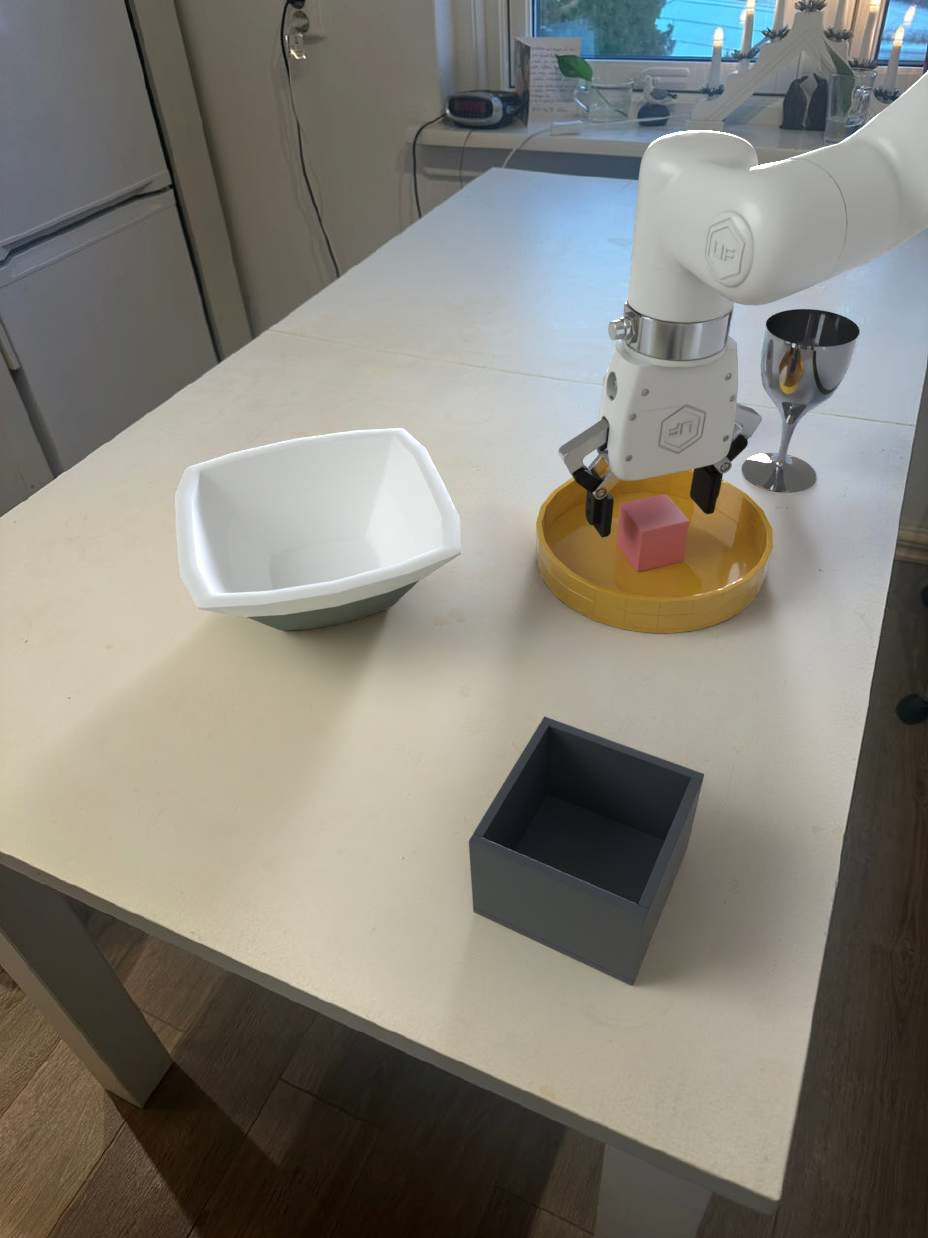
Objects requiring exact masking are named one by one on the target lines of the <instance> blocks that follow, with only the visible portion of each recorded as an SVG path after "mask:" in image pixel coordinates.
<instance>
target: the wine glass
mask: <svg viewBox="0 0 928 1238" xmlns="http://www.w3.org/2000/svg"><path fill="white" fill-rule="evenodd" d="M860 333H861V329H860V327H859V326H858V324H857V323H856V322H854V321H853V320H852V319H850V318H848V317H846V316H844V315H842V314H838V313H835V312H832V311H827V310H821V309H813V308H796V309H795V308H794V309H787V310H783V311H779V312H777V313H774V314H772V315H771V316H769V317H768V319H767V320H766V321H765V325H764V330H763V334H762V341H761V347H760V359H759V361H760V362H759V368H760V369H759V370H760V378H761V383H762V387H763V389H764V391H765V392H766V394H767V396H768V397H769V399H771V401H772V403H773V404H774V406H776V408H777V410H778V412H779V415H780V417H781V422H782V424H781V425H782V427H781V438H780V443H779V444H780V445H779V449H778V452H763V453H758V454H755V455H752V456H750V457H748V458H747V459H746V460H744V461H743V462H742V464H741V467H740V469H741V474H742V476H743V477H744V478H745V479H746V481H748V482H749V483H750V484H752V485H753V486H756V487H758V488H760V489H763V490H765V491H766V490H767V491H770V492H776V493H795V492H800V491H803V490H805V489H808V488H810V487H812V485H813V484H814V483H815V481H816V480H817V479H816V477H817V475H816V471H815V469H814V468H813V467H812V465H810V464H809V463H808V462H807V461H806V460H803V459H802V458H799V457H797V456H794V455H790V454H788V450H789V446H790V443H791V440H792V437H793V436H794V433H795V430H796V427H797V426H798V423H800V421H801V420H802V418H804V416H806V415H807V414H808V413H810V412H811V411H812V410H815V408H817V407H819V406H820V405H822V404H823V403H825V402H826V401H827V400H829V399H830V398H831V397H833V395H835V393H836V392H837V391H838V389H839V388H840V386H841V384H842V382H843V380H844V379H845V377H846V375H847V372H848V371H849V368H850V366H851V364H852V361H853V358H854V356H855V352H856V349H857V346H858V342H859V338H860Z"/></svg>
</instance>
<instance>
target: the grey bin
mask: <svg viewBox="0 0 928 1238" xmlns="http://www.w3.org/2000/svg"><path fill="white" fill-rule="evenodd" d="M519 755H520V756H519V757H518V759H517V761H516V762H515V764H514V765H513V767H512V768H511V770H510V772H509V774H508V776H507V777H506V778H505V780H504V782H503V784H501V787H500V788H499V790H498V791H497V794H496V795H495V797H494V798H493V800H492V802H491V803H490V805H489V807H488V808H487V809H486V811H485V812H484V814H483V816H482V818H481V820H480V821H479V823H478V825H477V826H476V828H475V829H474V831H473V834H472V835H471V836H470V838H469V840H468V852H469V867H470V882H471V883H470V884H471V895H472V909H473V913H475V914H477V915H480V916H482V917H483V918H486V919H487V920H489V921H492V922H494V923H497V924H498V925H501V926H502V927H504V928H506V929H509V930H511V931H513V932H515V933H518V934H520V935H522V936H524V937H526V938H528V939H531V940H533V941H534V942H537V943H539V944H541V945H543V946H546V947H547V948H549V949H552V950H554V951H556V952H558V953H560V954H563V955H565V956H567V957H569V958H571V959H573V960H575V961H578V962H579V963H581V964H583V965H586V966H588V967H590V968H593V969H594V970H597V971H599V972H601V973H603V974H605V975H608V976H610V977H612V978H614V979H616V980H618V981H620V982H623V983H624V984H627V985H629V986H631V987H633V986H634V984H635V982H636V979H637V977H638V974H639V972H640V969H641V966H642V964H643V961H644V959H645V957H646V954H647V951H648V949H649V946H650V944H651V940H652V938H653V936H654V933H655V931H656V928H657V926H658V923H659V921H660V918H661V916H662V913H663V910H664V908H665V906H666V903H667V901H668V898H669V895H670V893H671V891H672V887H673V885H674V883H675V881H676V878H677V875H678V873H679V871H680V867H681V865H682V863H683V860H684V858H685V855H686V852H687V850H688V847H689V844H690V843H689V842H690V840H691V839H690V838H691V834H692V829H693V825H694V820H695V817H696V813H697V808H698V805H699V800H700V795H701V791H702V787H703V782H704V777H705V773H703V772H700V771H698V770H695V769H692V768H690V767H686V766H684V765H680V764H678V763H675V762H673V761H670V760H667V759H665V758H662V757H659V756H656V755H653V754H651V753H647V752H645V751H642V750H639V749H636V748H634V747H631V746H628V745H626V744H623V743H620V742H617V741H614V740H612V739H609V738H605V737H604V736H601V735H597V734H596V733H595V734H594V733H592V732H590V731H587V730H584V729H582V728H579V727H575V726H573V725H570V724H567V723H565V722H561V721H559V720H556V719H553V718H551V717H548V716H543V718H542V719H541V721H540V723H539V724H538V726H537V727H536V729H535V730H534V732H533V734H532V736H531V738H530V739H529V741H528V742H527V743H526V746H525V747H524V749H523V750H522V752H521V754H519Z"/></svg>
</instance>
